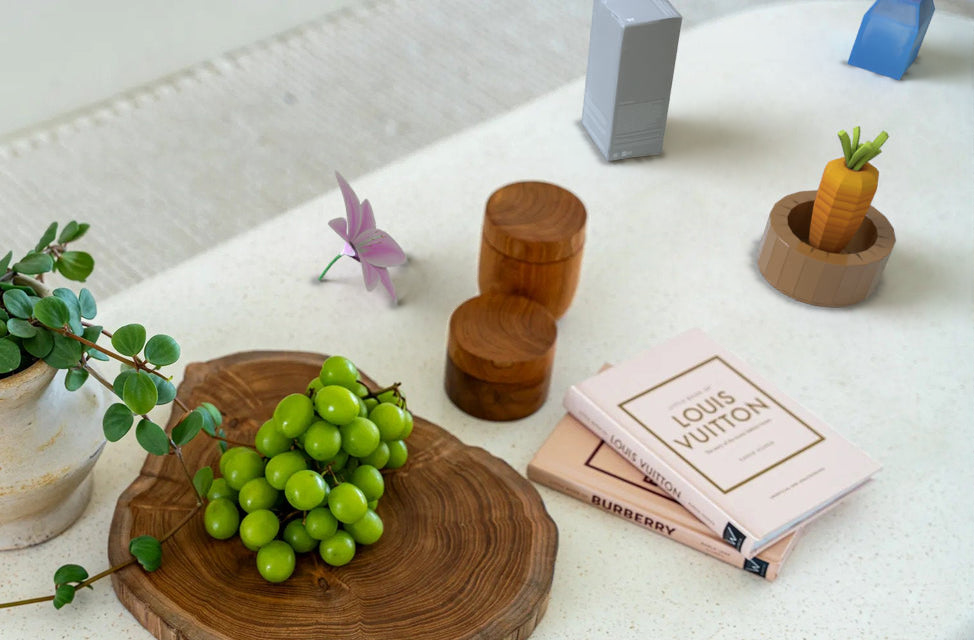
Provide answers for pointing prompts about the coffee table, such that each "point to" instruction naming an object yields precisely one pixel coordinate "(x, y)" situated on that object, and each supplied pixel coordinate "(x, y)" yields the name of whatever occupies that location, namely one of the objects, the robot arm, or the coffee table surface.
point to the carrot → (845, 193)
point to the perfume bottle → (891, 36)
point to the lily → (366, 241)
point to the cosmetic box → (630, 75)
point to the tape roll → (822, 255)
